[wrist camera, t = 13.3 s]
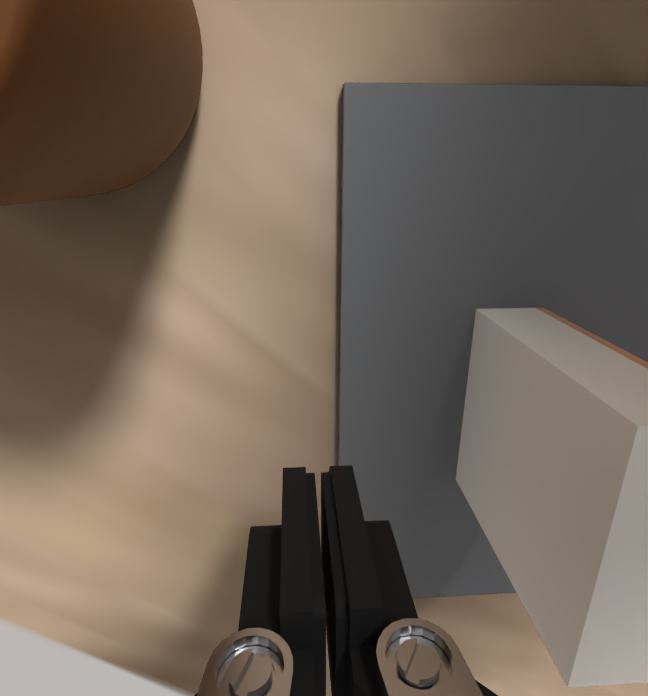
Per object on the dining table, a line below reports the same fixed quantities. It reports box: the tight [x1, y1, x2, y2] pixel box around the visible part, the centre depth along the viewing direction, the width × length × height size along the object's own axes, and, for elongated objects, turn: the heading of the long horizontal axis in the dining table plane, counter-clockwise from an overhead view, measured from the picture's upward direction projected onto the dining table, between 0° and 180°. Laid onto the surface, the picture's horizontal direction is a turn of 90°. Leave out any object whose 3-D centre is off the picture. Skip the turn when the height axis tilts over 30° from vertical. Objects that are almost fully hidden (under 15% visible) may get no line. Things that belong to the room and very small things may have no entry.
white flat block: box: [456, 308, 648, 688], centre depth 13 cm, size 7×2×8 cm, turn 0°
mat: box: [338, 83, 648, 598], centre depth 18 cm, size 20×20×1 cm
